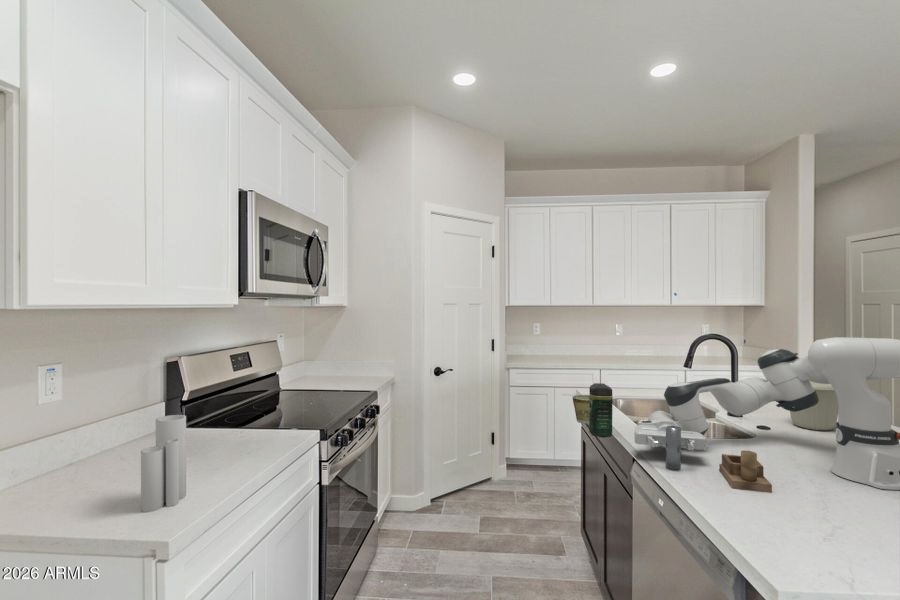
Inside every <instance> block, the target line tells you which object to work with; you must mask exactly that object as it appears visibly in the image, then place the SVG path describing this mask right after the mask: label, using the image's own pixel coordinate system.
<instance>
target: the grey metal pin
mask: <svg viewBox="0 0 900 600" xmlns="http://www.w3.org/2000/svg"><path fill="white" fill-rule="evenodd" d="M681 450H682V448H681V428H680V427H677V426H666V448H665V468H666V469H667V470H670V471H674V472H675V471H676V472H680V471H681V470H682V460H681V459H682V451H681Z"/></svg>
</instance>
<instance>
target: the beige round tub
mask: <svg viewBox="0 0 900 600" xmlns="http://www.w3.org/2000/svg"><path fill="white" fill-rule="evenodd" d="M809 381H810V380H809ZM810 383H811V385H812V387H813V389H814V391H816V393H817V395H818V398H819V402H818V404H816V405H815V406H814V407H813V408H811V409H810V410H807V411H803V412H792V411H789V414H790V415H789V416H790V419H791V421H792V423H793V424H794V425H795V426H797V427H798V428H799V427H800V428H804V429H807V430H812V431H831V430H833V429H835V428H836V423H837V422H838V403H837V396H836V393H835V390H834V388H833V386H832V385H831V384H820V383H815V382H812V381H810Z"/></svg>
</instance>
